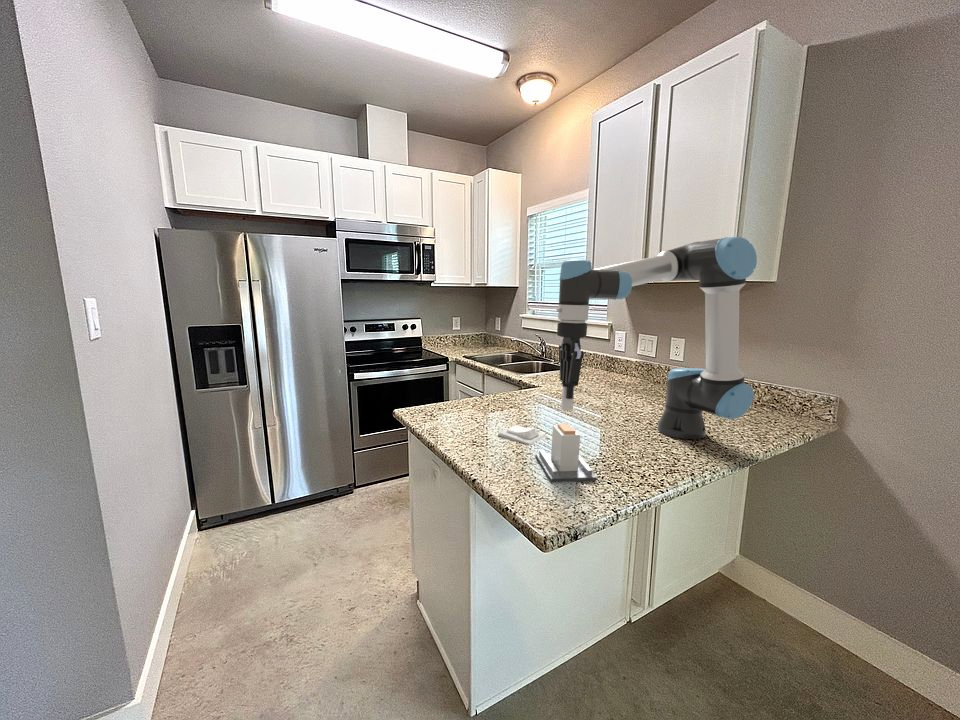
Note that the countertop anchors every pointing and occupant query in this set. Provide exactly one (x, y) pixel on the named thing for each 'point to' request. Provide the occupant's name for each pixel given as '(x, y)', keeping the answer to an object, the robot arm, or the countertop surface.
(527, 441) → the light switch
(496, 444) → the countertop surface
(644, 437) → the countertop surface
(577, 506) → the countertop surface
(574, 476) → the rail
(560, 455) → the block
